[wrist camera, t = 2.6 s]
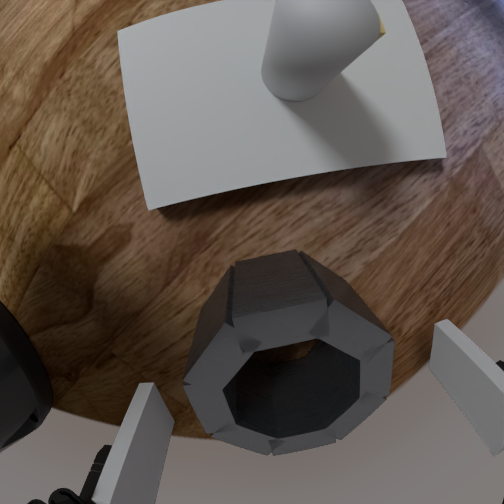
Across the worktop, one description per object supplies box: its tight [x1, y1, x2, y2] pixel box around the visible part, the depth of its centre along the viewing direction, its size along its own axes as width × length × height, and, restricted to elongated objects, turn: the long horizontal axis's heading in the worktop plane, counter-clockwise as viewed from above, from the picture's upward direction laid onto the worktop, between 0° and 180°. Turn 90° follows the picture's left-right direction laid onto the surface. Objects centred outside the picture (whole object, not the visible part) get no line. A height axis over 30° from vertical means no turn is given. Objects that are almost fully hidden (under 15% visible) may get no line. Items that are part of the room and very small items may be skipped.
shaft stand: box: [117, 0, 447, 210], centre depth 9 cm, size 16×10×8 cm, turn 102°
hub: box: [182, 250, 394, 456], centre depth 14 cm, size 8×8×6 cm
